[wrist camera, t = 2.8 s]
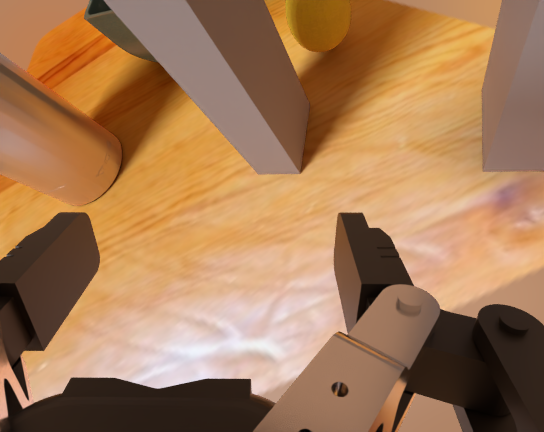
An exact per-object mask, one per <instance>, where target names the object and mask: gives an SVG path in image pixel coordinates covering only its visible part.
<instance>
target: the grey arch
mask: <svg viewBox="0 0 544 432" xmlns="http://www.w3.org/2000/svg"><path fill="white" fill-rule="evenodd" d="M104 1H105V3H106V4H107V5H108V6H109V7H110V8H111V9H112V10H113V12H114V13H115V14H116V15H117V16H118V17H119V18H120V19H121V21H122V22H123V23H124V24H125V25H126V26H127V27H128V28H129V30H130V31H131V32H132V33H133V34H134V35H135V36H136V37H137V39H138V40H139V41H140V42H141V43H142V44H143V45H144V46H145V48H146V49H147V50H148V51H149V52H150V53H151V54H152V55H153V57H154V58H155V59H156V60H157V61H158V62H159V63H160V64H161V65H162V67H163V68H164V69H165V70H166V71H167V72H168V73H169V74H170V76H171V77H172V78H173V79H174V80H175V81H176V82H177V83H178V85H179V86H180V87H181V88H182V89H183V90H184V91H185V92H186V94H187V95H188V96H189V97H190V98H191V99H192V100H193V101H194V103H195V104H196V105H197V106H198V107H199V108H200V109H201V110H202V112H203V113H204V114H205V115H206V116H207V117H208V118H209V119H210V121H211V122H212V123H213V124H214V125H215V126H216V127H217V128H218V129H219V131H220V132H221V133H222V134H223V135H224V136H225V137H226V138H227V140H228V141H229V142H230V143H231V144H232V145H233V146H234V147H235V149H236V150H237V151H238V152H239V153H240V154H241V155H242V156H243V158H244V159H245V160H246V161H247V162H248V163H249V164H250V165H251V167H252V168H253V169H254V170H255V171H256V172H257V173H258V174H300V172H301V165H302V158H303V151H304V144H305V137H306V130H307V123H308V115H309V108H310V104H309V101H308V99H307V97H306V95H305V92H304V90H303V88H302V85H301V83H300V81H299V79H298V76H297V74H296V72H295V70H294V67H293V65H292V63H291V61H290V58H289V56H288V54H287V51H286V49H285V47H284V45H283V42H282V40H281V38H280V36H279V33H278V31H277V29H276V27H275V24H274V22H273V20H272V17H271V15H270V13H269V11H268V8H267V6H266V4H265V2H264V0H104ZM482 142H483V172H491V171H544V0H502V3H501V8H500V12H499V17H498V21H497V25H496V30H495V34H494V39H493V43H492V48H491V52H490V56H489V61H488V65H487V70H486V74H485V79H484V83H483V87H482Z"/></svg>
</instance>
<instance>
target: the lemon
mask: <svg viewBox="0 0 544 432" xmlns="http://www.w3.org/2000/svg"><path fill="white" fill-rule="evenodd" d="M285 9H286V18H287V22H288V25H289V28H290V30H291V33H292V35H293V36H294V38H295V39H296V40H297V42H298V43H299V44H300V45H301V46H302V47H304V48H306V49H308V50H310V51H314V52H325V51H328V50H331V49H333V48H334V47H336V46H337V45H338V44H339V43H340V42H341V41H342V40H343V39H344V37H345V36H346V34H347V32H348V29H349V26H350V23H351V4H350V0H285Z"/></svg>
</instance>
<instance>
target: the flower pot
mask: <svg viewBox="0 0 544 432" xmlns="http://www.w3.org/2000/svg"><path fill="white" fill-rule="evenodd" d="M84 19H85V20H87V21H88V22H89V23H90V24H92V25H93V26H94V27H95V28H97V29H98V30H99V31H100V32H101V33H103V34H104V35H105V36H106V37H108V38H109V39H110V40H111V41H113V42H114V43H115V44H116V45H118V46H119V47H120V48H122V49H123V50H125V51H126V52H128V53H130V54H132V55H134V56H137V57H139V58H142V59H146V60H149V61H154V62H158V61H157V60H156V59H155V58H154V57H153V55H152V54H151V53H150V52H149V51H148V50H147V49H146V48H145V46H144V45H143V44H142V43H141V42H140V41H139V40H138V39H137V37H136V36H135V35H134V34H133V33H132V32H131V31H130V30H129V28H128V27H127V26H126V25H125V24H124V23H123V22H122V21H121V19H120V18H119V17H118V16H117V15H116V14H115V13H114V12H113V10H112V9H111V8H110V7H109V6H108V5H107V4H106V3H105V1H104V0H90V1H89V4H88V6H87V9H86V11H85V16H84Z"/></svg>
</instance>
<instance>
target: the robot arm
mask: <svg viewBox="0 0 544 432" xmlns="http://www.w3.org/2000/svg"><path fill="white" fill-rule="evenodd" d="M121 160H122V149H121V144H120V142H119V140H118V139H117V138H116V137H115V136H114V135H113V134H112V133H110V132H109V131H108V130H106V129H105V128H103V127H102V126H101V125H99V124H98V123H97V122H95V121H94V120H92V119H91V118H90V117H88V116H87V115H86V114H84V113H83V112H82V111H80V110H79V109H77V108H76V107H75V106H73V105H72V104H71V103H69V102H68V101H66V100H65V99H64V98H62V97H61V96H59V95H58V94H57V93H55V92H54V91H52V90H51V89H50V88H48V87H47V86H46V85H44V84H43V83H41V82H40V81H39V80H37V79H36V78H34V77H33V76H32V75H30V74H29V73H28V72H26V71H25V70H23V69H22V68H20V67H19V66H18V65H16V64H15V63H14V62H12V61H11V60H9V59H8V58H7V57H5V56H4V55H2V54H1V53H0V174H1V175H3V176H6V177H8V178H10V179H13V180H15V181H17V182H19V183H22V184H24V185H26V186H29V187H31V188H33V189H35V190H37V191H40V192H42V193H44V194H47V195H49V196H51V197H53V198H56V199H58V200H60V201H63V202H65V203H67V204H70V205H77V206H80V205H84V204H87V203H90V202H92V201H94V200H95V199H97V198H98V197H100V196H101V195H102V194H103V193H104V192H105V191H106V190H107V189H108V188H109V187H110V185H111V184H112V183H113V181H114V179H115V178H116V176H117V174H118V171H119V168H120V165H121ZM99 263H100V255H99V250H98V247H97V243H96V239H95V236H94V232H93V228H92V225H91V221H90V218H89V216H88V215H87V214H86V213H75V212H61V213H58V214H57V215H56V216H55V217H54V218H53V219H52V220H51V221H50V222H48V223H47V224H46V225H45V226H44V227H43V228H41V229H39V230H37V231H35V232H34V233H32V234H30V235H28V236H26V237H25V238H24V239H23V240H22V241H21V242H20V243H19V244H18V245H17V246H16V248H15V249H12V250H11V251H10V252H9V253H8V254H7V257H4V258H3V259H2V260H0V432H398V430H399V428H400V426H401V424H402V422H403V420H404V418H405V416H406V414H407V412H408V410H409V408H410V406H411V404H412V402H413V400H414V398H415V396H416V394H420V395H423V396H427V397H430V398H433V399H437V400H440V401H443V402H447V403H450V404H453V407H454V410H455V412H456V415H457V418H458V420H459V423H460V426H461V429H462V431H463V432H544V325H543V324H542V323H541V322H540V321H538V320H537V319H536V318H535V317H533V316H532V315H530V314H528V313H527V312H525V311H522V310H520V309H517V308H515V307H511V306H507V305H500V304H493V305H488V306H485V307H483V308H482V309H481V310H480V311H479V313H478V316H477V318H472V317H468V316H464V315H460V314H455V313H451V312H447V311H444V310H441V309H440V306H439V304H438V302H437V301H436V299H435V298H434V297H433V296H432V295H430V294H429V293H428V292H426V291H424V290H422V289H420V288H417V287H414V285H413V283H412V281H411V279H410V277H409V275H408V273H407V271H406V268H405V266H404V264H403V262H402V260H401V258H399V254H398V252H397V250H396V249H395V246H394V244H393V242H392V240H391V238H390V236H388V235H387V234H386V233H385V232H383V231H382V230H381V229H380V228H369V227H368V225H367V222H366V220H365V217H364V215H363V213H339V214H338V217H337V227H336V237H335V248H334V271H335V276H336V281H337V285H338V290H339V295H340V299H341V304H342V309H343V313H344V318H345V323H346V327H347V332H348V334H347V335H346V334H344V333H342V332H337V333H335V334H334V335H333V336H332V337H331V338H330V339H329V341H328V342H327V343H326V344H325V345H324V347H323V348H322V349H321V350H320V351H319V353H318V354H317V355H316V356H315V357H314V359H313V360H312V361H311V362H310V363H309V365H308V366H307V367H306V368H305V369H304V371H303V372H302V373H301V374H300V375H299V377H298V378H297V379H296V380H295V381H294V383H293V384H292V385H291V386H290V387H289V389H288V390H287V391H286V392H285V393H284V395H283V396H282V397H281V398H280V399H279V401H278V402H277V403H274V402H272V401H270V400H268V399H266V398H263V397H261V396H258V395H255V394H252V392H251V379H203V380H198V381H194V382H189V383H184V384H180V385H175V386H170V387H166V388H160V389H155V388H151V387H147V386H143V385H140V384H136V383H132V382H128V381H125V380H121V379H117V378H71V379H70V381H69V383H68V384H67V386H66V388H65V390H64V392H63V393H62V394H58V395H54V396H51V397H48V398H45V399H43V400H40V401H38V402H35V403H34V401H33V396H32V392H31V387H30V382H29V377H28V373H27V368H26V364H25V361H24V359H23V357H22V355H21V354H22V353H23V351H44V350H45V348H46V347H47V345H48V344H49V342H50V341H51V339H52V338H53V336H54V335H55V333H56V332H57V331H58V329H59V328H60V326H61V325H62V323H63V322H64V320H65V319H66V317H67V316H68V314H69V313H70V311H71V310H72V308H73V307H74V305H75V304H76V302H77V301H78V299H79V298H80V296H81V295H82V293H83V292H84V290H85V289H86V287H87V286H88V284H89V283H90V281H91V280H92V278H93V277H94V275H95V274H96V272H97V270H98V268H99Z"/></svg>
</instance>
